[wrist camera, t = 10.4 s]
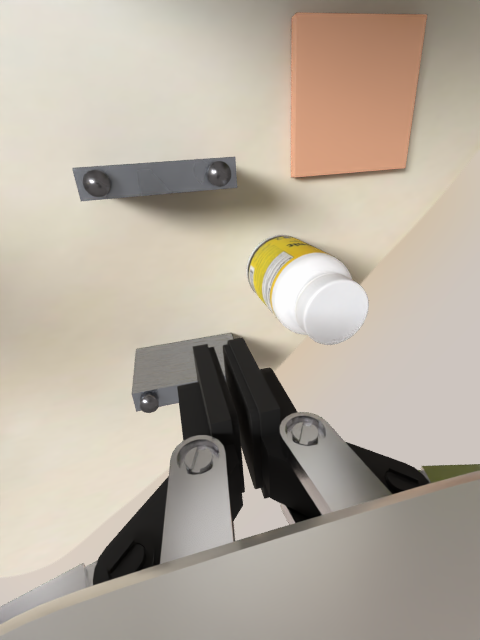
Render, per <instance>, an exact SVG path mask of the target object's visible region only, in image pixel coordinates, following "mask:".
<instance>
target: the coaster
mask: <svg viewBox="0 0 480 640" xmlns="http://www.w3.org/2000/svg"><path fill="white" fill-rule="evenodd" d="M426 20H427V15H422V14H360V13H298V12H297V13H296V14H295V15H294V16H293V17H292V37H291V177H305V176H317V175H329V174H341V173H353V172H365V171H377V170H389V169H401V168H405V167H406V160H407V153H408V146H409V139H410V132H411V125H412V118H413V111H414V104H415V97H416V90H417V83H418V76H419V69H420V62H421V55H422V48H423V41H424V34H425V27H426Z"/></svg>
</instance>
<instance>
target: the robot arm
mask: <svg viewBox="0 0 480 640" xmlns="http://www.w3.org/2000/svg"><path fill="white" fill-rule="evenodd" d="M192 347H193V354H194V361H195V368H196V374H197V381H198V382H195V383H190V384H185V385H180V386H177V390H178V398H179V407H180V415H181V424H182V432H183V440H184V441H182V442H181V443H180V444H179V445H178V446H177V447H176V448H175V450H174V451H173V453H172V456H171V460H170V469H169V476H168V478H167V479H166V480H165V481H164V482H163V483H162V485H161V486H160V487H159V488H158V489H157V490H156V491H155V492H154V494H153V495H152V496H151V497H150V498H149V499H148V500H147V502H146V503H145V504H144V505H143V506H142V507H141V508H140V509H139V511H138V512H137V513H136V514H135V515H134V516H133V517H132V519H131V520H130V521H129V522H128V523H127V524H126V526H124V528H123V529H122V530H121V531H120V532H119V533H118V535H117V536H116V537H115V538H114V539H113V540H112V541H111V542H110V544H109V545H108V546H107V547H106V548H105V550H104V551H103V553H102V554H101V555H100V557H99V559H98V561H96V562H94V563H92V564H90V565H88V566H87V567H85V565H84V563H82V564H80V565H78V566H76V567H75V568H73V569H71V570H69V571H67V572H65V573H63V574H61V575H59V576H58V577H56V578H54V579H52V580H50V581H48V582H46V583H44V584H42V585H41V586H39V587H37V588H35V589H33V590H31V591H29V592H28V593H25V594H24V595H22V596H20V597H18V598H16V599H14V600H12V601H10V602H8V603H7V604H5V605H3V606H1V607H0V640H480V464H474V465H473V464H472V465H439V466H422V467H421V470H417V469H415V468H414V467H412V466H410V465H407V464H406V463H403V462H400V461H397V460H394V459H392V458H389V457H386V456H383V455H381V454H378V453H375V452H372V451H370V450H367V449H364V448H361V447H359V446H356V445H353V444H350V443H347V442H345V441H344V440H343V439H342V438H341V437H340V436H339V435H338V433H337V432H336V431H335V430H334V429H333V428H332V427H331V426H330V425H329V423H328V422H326V421H325V420H324V419H323V418H322V417H320V416H318V415H316V414H313V413H309V412H297V411H296V409H295V407H294V405H293V404H292V402H291V400H290V399H289V397H288V395H287V394H286V392H285V390H284V389H283V387H282V385H281V383H280V382H279V381H278V378H277V377H276V375H275V373H274V372H273V370H272V369H271V368H265V369H259V368H258V366H257V364H256V362H255V360H254V358H253V356H252V354H251V352H250V351H249V349H248V347H247V345H246V343H245V341H244V339H243V338H237V339H232V340H228V341H227V344H226V345H223V356H224V366H225V376H226V380H225V377H224V374H223V372H222V369H221V366H220V363H219V360H218V357H217V354H216V351H215V348H214V347H208V344H203V345H198V346H192ZM241 448H242V450H243V454H244V456H245V460H246V463H247V466H248V469H249V473H250V476H251V479H252V482H253V485H254V488H255V489H258V488H261V490H262V493H263V496H264V498H268V497H270V498H272V499H273V500H276V501H277V502H279V503H281V508H282V511H283V514H284V515H285V517H286V519H287V521H288V523H289V525H288V526H285V527H282V528H278V529H274V530H271V531H268V532H265V533H261V534H258V535H254V536H251V537H248V538H244V539H241V540H238V541H235V533H234V523H233V521H234V519H235V518H236V516H237V514H238V512H239V511H240V509H241V508H242V506H243V501H242V493H243V492H245V488H244V476H243V465H242V453H241Z"/></svg>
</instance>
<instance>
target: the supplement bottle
mask: <svg viewBox="0 0 480 640" xmlns="http://www.w3.org/2000/svg"><path fill="white" fill-rule="evenodd" d="M247 278H248V282H249V284H250V286H251V288H252V289H253V291H254V292H255V293H256V294H257V296H258V297H259V298H260V299H261V300H262V301H263V302H264V304H265V305H266V306H267V307H268V308H269V309H270V311H271V312H272V313H273V314H274V315H275V316H276V318H277V319H278V320H279V321H280V322H281V323H282V324H283V325H284V326H285V327H286V328H287V329H289V330H291V331H293V332H295V333H298V334H304V335H308V336H309V337H310V338H311V339H312V340H314V341H315V342H317V343H320V344H325V345H332V344H338V343H340V342H343V341H345V340H347V339H349V338H350V337H352V336H353V335H354V334H355V333H356V332H357V331H358V330H359V329H360V328H361V326H362V324H363V323H364V321H365V319H366V316H367V313H368V306H369V304H368V297H367V294H366V292H365V290H364V289H363V287H362V286H361V285H360V284H358V283H357V282H355V281H353V280H352V277H351V274H350V272H349V270H348V269H347V267H346V266H345V265H344V264H343V263H342V262H341V261H340V260H338V259H337V258H335V257H333V256H331V255H329V254H327V253H325V252H323V251H321V250H319V249H317V248H315V247H313V246H311V245H309V244H307V243H304V242H302V241H300V240H298V239H296V238H293V237H290V236H286V235H277V236H272V237H269V238H267V239H265V240H264V241H262V242H261V243H260V244H259V245H258V246H257V247H256V248H255V249H254V250H253V252H252V253H251V255H250V257H249V260H248V263H247Z"/></svg>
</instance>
